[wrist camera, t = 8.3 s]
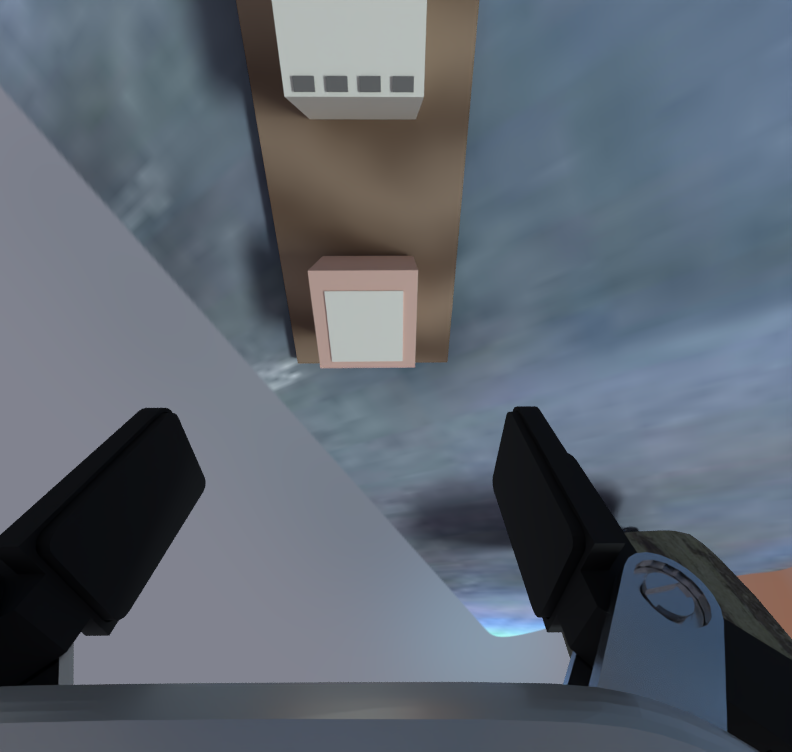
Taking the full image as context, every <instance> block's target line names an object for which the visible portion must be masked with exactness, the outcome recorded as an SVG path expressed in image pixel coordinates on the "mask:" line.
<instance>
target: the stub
mask: <svg viewBox="0 0 792 752" xmlns="http://www.w3.org/2000/svg"><path fill="white" fill-rule="evenodd" d="M308 278H309V286H310V293H311V301H312V308H313V316H314V323H315V331H316V338H317V346H318V353H319V361H320V368H408V367H415V352H416V322H417V291H418V268H417V266H416V263H415V260H414V257H413V256H322V257H321V258H320V259H319V260H318V261H317V262H316V263H315V264H314V265H313V266H312V267H311V268H310V269H309V270H308Z"/></svg>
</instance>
